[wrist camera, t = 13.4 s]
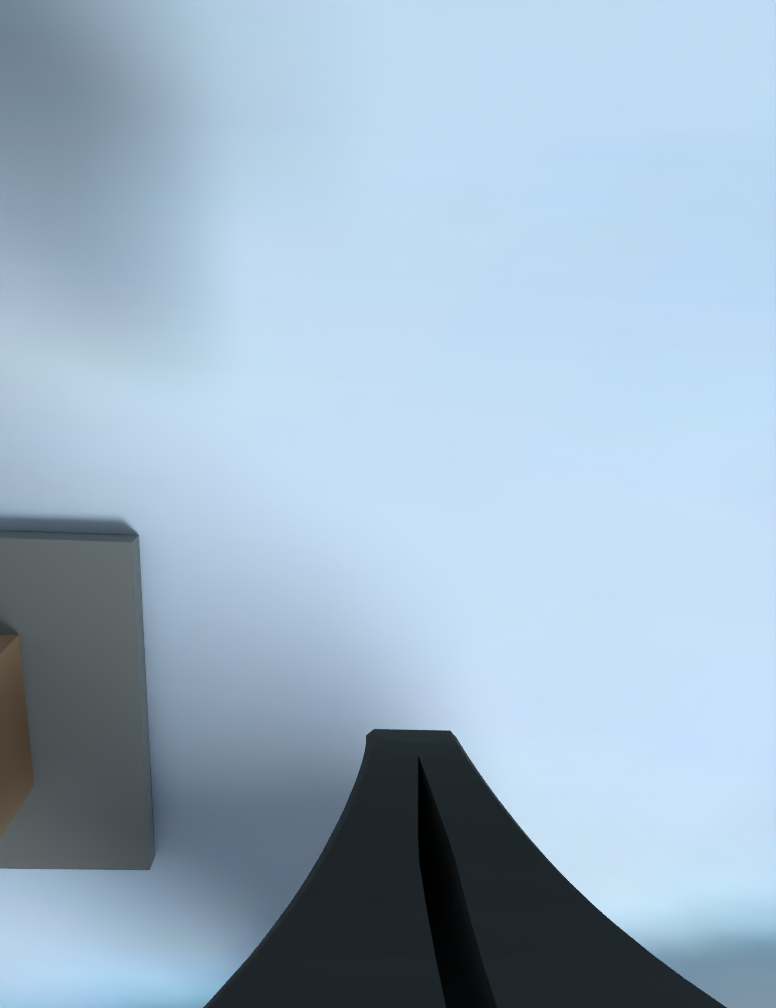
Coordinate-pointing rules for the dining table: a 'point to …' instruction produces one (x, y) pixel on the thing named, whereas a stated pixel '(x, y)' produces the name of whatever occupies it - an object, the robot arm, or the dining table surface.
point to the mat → (79, 700)
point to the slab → (13, 733)
